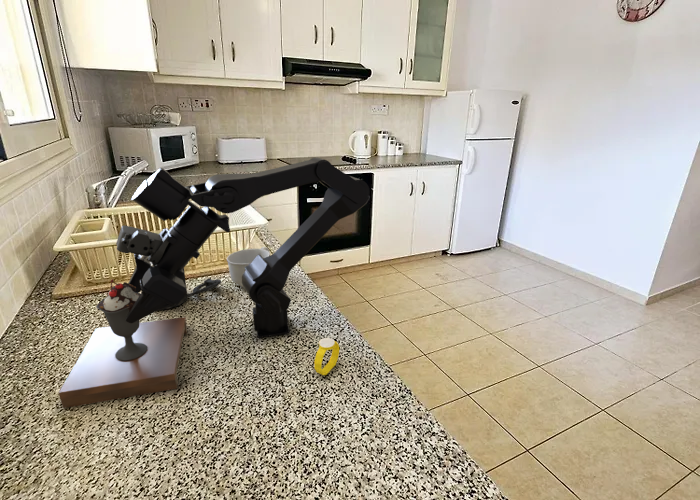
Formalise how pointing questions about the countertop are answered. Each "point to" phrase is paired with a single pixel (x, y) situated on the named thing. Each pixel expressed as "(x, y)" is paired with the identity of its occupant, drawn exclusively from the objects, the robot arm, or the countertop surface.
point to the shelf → (125, 364)
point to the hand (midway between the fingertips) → (126, 309)
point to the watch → (323, 347)
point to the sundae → (122, 318)
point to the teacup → (243, 262)
